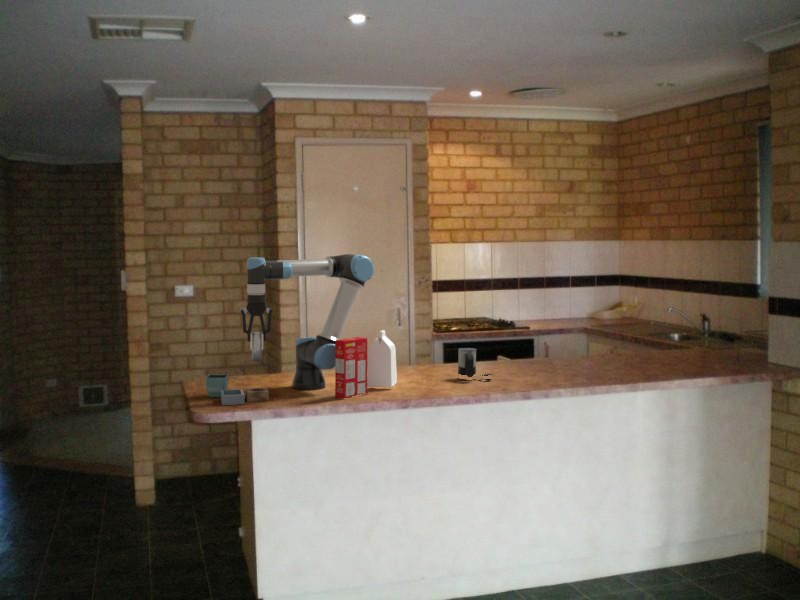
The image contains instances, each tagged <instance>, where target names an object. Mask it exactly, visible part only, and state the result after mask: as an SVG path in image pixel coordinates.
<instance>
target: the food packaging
mask: <svg viewBox="0 0 800 600" xmlns="http://www.w3.org/2000/svg"><path fill="white" fill-rule="evenodd" d="M334 370H335V371H334V374H335V375H334V376H335V377H334V378H335V380H334V381H335V382H334V383H335V385H334V386H335V387H334V388H335V390H334V392H335V393H334V395H335V397H337V398H336V399H339V398H348V397H352V396H356V395H360V394H364V393H367V394H368V389H367V377H368V337H361V336H356V337H350V338H342V339H341V338H340V340H335V367H334Z"/></svg>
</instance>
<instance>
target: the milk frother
mask: <svg viewBox="0 0 800 600" xmlns="http://www.w3.org/2000/svg"><path fill="white" fill-rule="evenodd" d="M457 351H458V352H457V353H458V361H457V365H458V366H457V367H458V368H457V375H458V374H461V375H467V376H468V377H472V376H473V375H474V374H476V375H477V372H476V371H477V367H476V366H477V365H476V364H477V361H476V360H477V348H472V347H460V348H457ZM481 375H482V376H483V375H484V376H488V375H493V376H494V374H492V373H487V374H486V373H485V374H481Z"/></svg>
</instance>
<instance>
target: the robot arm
mask: <svg viewBox="0 0 800 600" xmlns="http://www.w3.org/2000/svg"><path fill="white" fill-rule="evenodd" d="M374 271H375V265H374V263H373V260H371V258H369V257H368V256H367V255H362V254H352V253H351V254H349V253H347V254H346V253H345V254H340V255H334V256H333V255H331V256H326V257H324V258H313V259H312V258H311V259H310V258H309V259H307V258H305V259H283V260H282V259H281V260H280V259H279V260H276V259H275V260H266V259H265V257H249V258H248V259H247V260H246V278H247V279H246V282H247V283H246V285H247V286H246V290H247V291H246V293H247V297H246V300H247V302H246V303H247V305H246V307H245V308H243V309H240V313H241V315H242V316H241V322H242V332H243V333H244V334H246V335H247V336H246V337H247V343H249V344H250V347H249V348H250V349H249V350H251V351H252V350H253V346H252V329H253V328H252V327H253V323H254V319H255V317H259V322H260V326H261V330H262V332H261V349H262V350H264V342H266V341H267V334H268V333H271V319H272V314H273V309H272V308H269V307H268V306H266V294H265V293H266V281H267V280H268V281H269V280H283V281H284V280H289V279H291V277H292V278H293V277H312V276H313V277H315V276H317V277H319V276H325V277H326V278H338V280H339V282H340V285H339V287H338V290H337V292H336V295H335V297H334V301H333V302H332V306H331V308H330V310H329V313H328V315H327V318H326V321H325V323H324V326H323V328H322V331H321V333H318V334H317V335H316V336H309V337H299V338H297V339H296V341H295V373H294V376H293V379H292V382H291V383H292V384H291V385H292V388H293V389H295V390H307V391H308V390H309V391H310V390H321V389H323V388H326V380H325V376H324V374H323V370H331V369H335V340H341V337H342V334H343V332H344V328H345V326H346V323H347V321H348V319H349V316H350V313H351V311H352V308H353V305H354V302H355V301H356V299H357V295H358V293H359V291H360V290H362V289H364V287H365V284H366V282H368V281H369V280H370V279H372V277H373V275H374V273H375V272H374ZM265 311H266V313H267V317H266V319H267V320H266V324H265V321H264V316H263V314H264V313H265ZM247 312H248V314H249V315H250V316H249V322H248V327H247V318H246V313H247ZM265 325H266V326H265Z"/></svg>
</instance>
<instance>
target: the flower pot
mask: <svg viewBox="0 0 800 600" xmlns="http://www.w3.org/2000/svg"><path fill="white" fill-rule="evenodd" d="M204 381H205V382H204V383H205V390H206V392H207V394H208V396H209V398H220V399H221V390H228V384H229V374H208V375H206V376H205V377H204Z"/></svg>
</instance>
